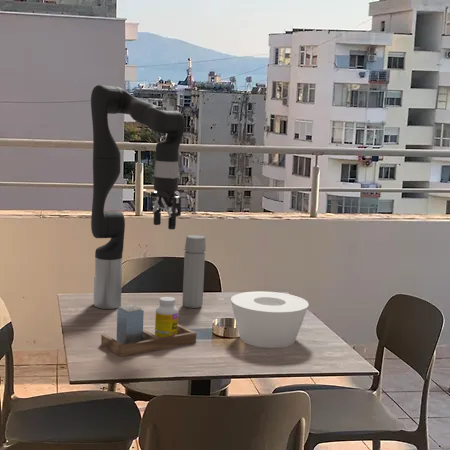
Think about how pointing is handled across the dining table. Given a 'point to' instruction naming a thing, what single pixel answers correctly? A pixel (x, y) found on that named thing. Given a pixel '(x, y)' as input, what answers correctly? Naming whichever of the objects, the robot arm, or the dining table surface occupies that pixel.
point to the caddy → (150, 342)
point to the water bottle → (194, 271)
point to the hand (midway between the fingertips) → (164, 227)
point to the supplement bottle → (166, 318)
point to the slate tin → (129, 324)
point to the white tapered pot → (268, 318)
